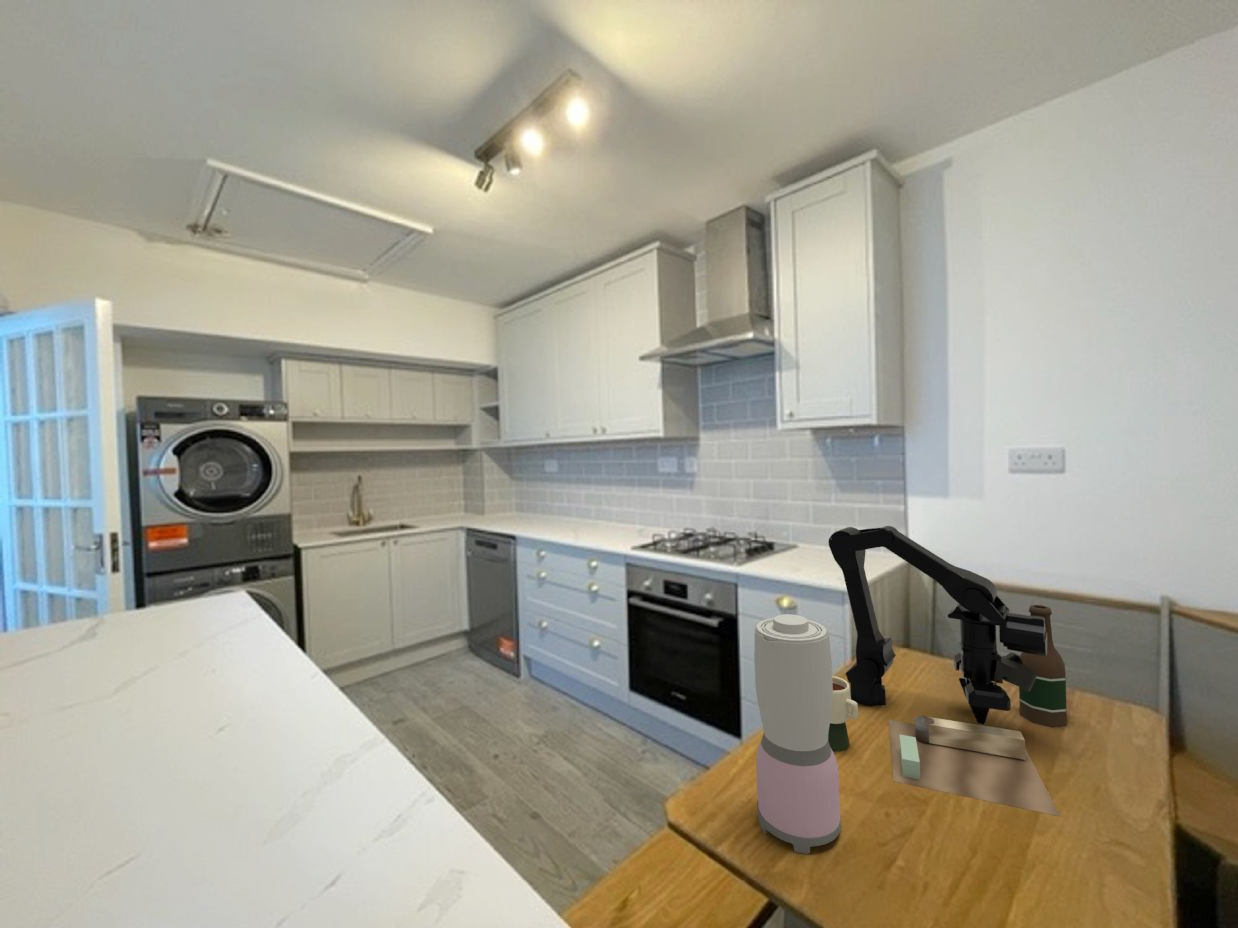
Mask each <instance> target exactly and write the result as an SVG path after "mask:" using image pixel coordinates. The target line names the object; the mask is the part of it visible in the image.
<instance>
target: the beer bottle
mask: <svg viewBox="0 0 1238 928" xmlns="http://www.w3.org/2000/svg"><path fill="white" fill-rule="evenodd" d="M1028 612H1029V613H1030V616H1041V617H1044V618H1045V629H1046V632H1047V656H1041V655H1035V654H1030V653H1024V652H1020V657H1021V658H1022V662H1023V665H1027V666H1028V667H1029V668H1031V669H1032V670H1033V672H1034V673H1035V674H1036V676H1037V677H1036V679H1035V681H1034V683H1033V686H1032V688H1031V690H1030V691H1026V690H1023V689H1022V688H1021V687H1019V686H1018V695H1019V696H1018V698H1019V699H1018V701H1019V715H1020V717H1022V718H1024V719H1026V720H1027V721H1028V722H1030V723H1032V724H1036V725H1041V726H1044V727H1048V728H1051V729H1052V728H1053V729H1054V728H1063V727H1064V728H1066V727H1067V725H1068V724H1067V723H1068V722H1067V721H1068V720H1067V719H1068V716H1067V715H1068V713H1067V712H1068V711H1067V710H1068V709H1067V680H1066V679H1067V677H1066V676H1067V675H1066V666H1065V661H1064V660H1063V658H1062V657H1063V656H1062V655H1061V653H1060V652H1059V651H1058V650H1057V649H1056V647H1055V644H1054V640H1053V632H1052V630H1053V629H1052V622H1051V616H1052V614H1053V613H1052V609H1051V608H1050V607H1049V606H1046V605H1042V604H1033V605H1032V604H1031V605H1029V609H1028Z"/></svg>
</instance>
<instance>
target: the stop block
mask: <svg viewBox="0 0 1238 928" xmlns="http://www.w3.org/2000/svg"><path fill="white" fill-rule="evenodd" d="M899 738H900V756H901V765H902V774H903V776H904V777H909V778H914V779H919V780H920V761H919V755H918V749H917V743H916V737H911V736H905V735H900V734H899Z"/></svg>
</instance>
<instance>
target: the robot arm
mask: <svg viewBox="0 0 1238 928" xmlns="http://www.w3.org/2000/svg"><path fill="white" fill-rule="evenodd" d="M828 547H829V549H830V551H831V554H832V557H833V559H834V561H835V563H836V564H837V566H839V568H840V570H841V571H842V574H843V579H844V583H845V588H846V591H847V596H848V600H849V605H850V610H851V613H852V617H853V622H854V626H855V630H856V646H855V663H854V664H852V666H851V667H850V668H849V669H848V670H847V671H846V672H845V676H846V679H847V682H848V683H849V685H850V696H851V700H853V701H855V702H856V703H857V704H858V705H862V706H865V707H877V706H881V707H882V706H886V705H887V702H886V699H887V698H886V687H885V686H886V685H884V684H883V679H882V678H883V676H885V674H886V673H887V671H889V669H890V668H892V665H893V663H894V659H895V657H896V656H897V655H896V653H895V651H894V649H893V640H892V638H891V637H887V638H885V637H884V636H883V635H882V633H881V632H880V629H879V624H878V621H877V616H876V612H875V608H874V604H873V600H872V595H871V591H870V587H869V583H868V579H867V575H866V570H865V561H866V554H867V553H866V550H871V549H876V548H885V549H886V550H888V551H889V552H891V553H893V554H894V555H896V556H897V557H899V558H900V559H901V560H903V561H904V562H907V563H908V564H909V565H911V566H912V567H914V568H916V569H917V570H919V571H920V572H922V573H923V574H924V575H926V576H927V577H930V578H931V579H932V580H934V581H935V582H937V584H939V585H940V586H941V587H942V588H943V590H944V591H945V592H946V593H947V594H948V595H949V597H950V598H952V599H953V600H954V601H956V602H957V605H956V606H955V608H953V609H951V610H949V613H948V614H947V618H949V619H953V620H958V621H959V628H960V632H959V634H960V636H959V638H960V642H958V649H959V651H960V652H959V653H957V654H956V655H954V656H953V667H954V669H955V671H956V672H957V671H958V672H959V671H960V672H961V675H962V676H963V677H960V678H958V681H959V685H960V686H961V689H962V691H963V695H964V697H965V698H966V701H967V704H968V705H969V707H970V709H971V712H972V714H973V716H974V718H975V721H976V723H977V725H985V724H986V721H987V719H988V714H989V712H990V710H996V711H997V710H999V711H1003V712H1004V711H1005V712H1009V711H1012V709H1011V708H1012V706H1011V704H1012V703H1011V698H1010V697H1009V695H1008V693H1007V691H1006V690H1005V689H1004V688H1003V687H1001V686H1000V685H998V684H1003V682H1004V681H1005V682H1007V683H1010V684H1011V685H1014V686H1016V687H1018V688H1019V687H1021V688H1022V689H1023V690H1026V691H1030V690H1031V688H1032V686H1033V683H1034V681H1035V679H1036V677H1037V676H1036V674H1035V673H1034V672H1033V670H1032V669H1031V668H1029V667H1028V666H1027V665H1023V662H1022V658H1021V657H1020V655H1021V654H1020V655H1019V654H1017V653H1014V652H1019V653H1022V652H1024V653H1030V654H1035V655H1041V656H1047V632H1046V629H1045V618H1044V617H1041V616H1031V615H1026V614H1025V615H1024V614H1020V613H1019V614H1018V613H1011V612H1010V611H1011V610H1010V609H1009V607H1008V606H1007V604H1005V603H1004V602H1003V601H1002V599H1001V598H1000V596H999V595H997V593H998V592H997V588H996V586H995V584H994V583H993V582H992V581H991V580H990V579H988V578H986V577H984V576H982V575H979V574H977V573H975V572H973V571H970V570H968V569H965V568H962V567H958V566H955V565H954V564H951V563H949V562H948V561H946V560H944V559H943V558H941V557H940V556H938V555H937V554H935V553H933V552H932V551H930V550H929V549H927V548H926V547H924V546H923V545H921V544H919V543H917V542H916V541H915V540H913V539H911V538H910V537H908V536H907V535H905V534H903V533H902V532H900V531H899V530H898V529H897V528H896V527H894V526H891V525H885V526H883V527H875V528H874V527H873V528H863V529H858V528H855V527H852V526H847V527H844V528H842V529H839V530H837V531H835V532H832V534H831V536H830V537H829V538H828ZM997 626H999V628H998V629H999V631H998V633H999V643H1001V644H1002V645H1003V647H1005V648H1006V649H1007V650H1009V651H1011V652H1010V653H1008V654H1006V655H1002V656H1001V654H1000V653H999V652H998V648H997V646H998V645H997ZM1012 651H1013V652H1012Z"/></svg>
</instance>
